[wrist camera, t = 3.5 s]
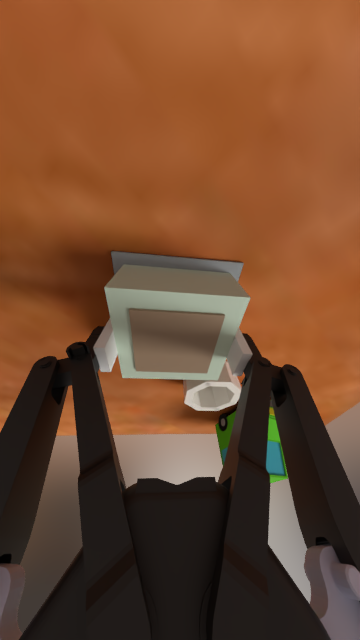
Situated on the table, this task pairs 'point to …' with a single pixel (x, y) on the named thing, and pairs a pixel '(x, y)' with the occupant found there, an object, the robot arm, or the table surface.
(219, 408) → the bowl
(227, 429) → the toy car
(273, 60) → the table surface
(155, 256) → the mat
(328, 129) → the table surface
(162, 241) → the table surface
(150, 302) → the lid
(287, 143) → the table surface
